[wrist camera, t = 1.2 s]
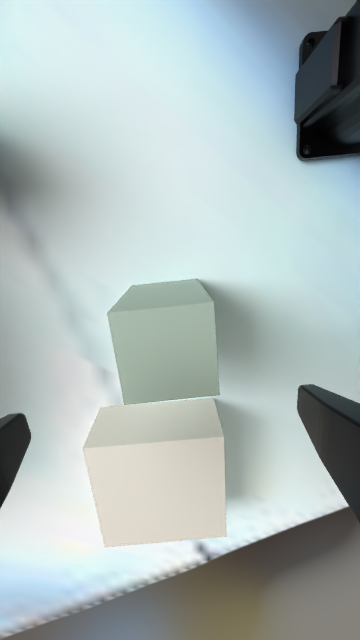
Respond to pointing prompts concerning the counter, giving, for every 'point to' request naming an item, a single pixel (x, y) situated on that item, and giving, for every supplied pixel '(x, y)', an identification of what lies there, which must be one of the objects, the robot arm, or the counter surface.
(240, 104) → the counter surface
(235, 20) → the counter surface
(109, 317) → the sage block
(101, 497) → the cream block
